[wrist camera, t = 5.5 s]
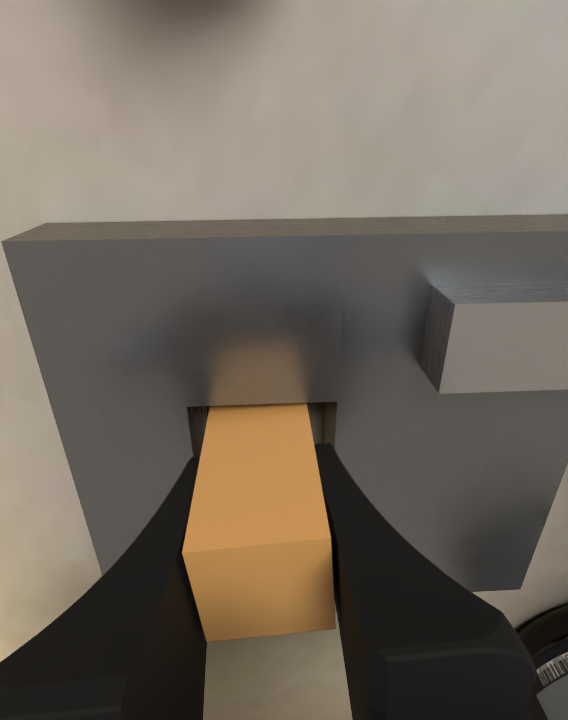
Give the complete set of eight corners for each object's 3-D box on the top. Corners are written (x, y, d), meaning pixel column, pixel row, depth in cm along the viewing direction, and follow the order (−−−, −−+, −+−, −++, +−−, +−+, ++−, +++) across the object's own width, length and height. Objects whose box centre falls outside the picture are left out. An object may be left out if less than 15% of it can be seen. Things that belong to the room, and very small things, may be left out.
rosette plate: (590, 214, 13) (710, 242, 10) (491, 539, 19) (541, 627, 16) (45, 223, 12) (-38, 256, 9) (129, 557, 19) (100, 652, 15)
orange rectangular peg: (301, 372, 15) (330, 537, 9) (306, 442, 16) (335, 628, 10) (214, 381, 15) (181, 553, 9) (227, 450, 16) (206, 642, 10)
